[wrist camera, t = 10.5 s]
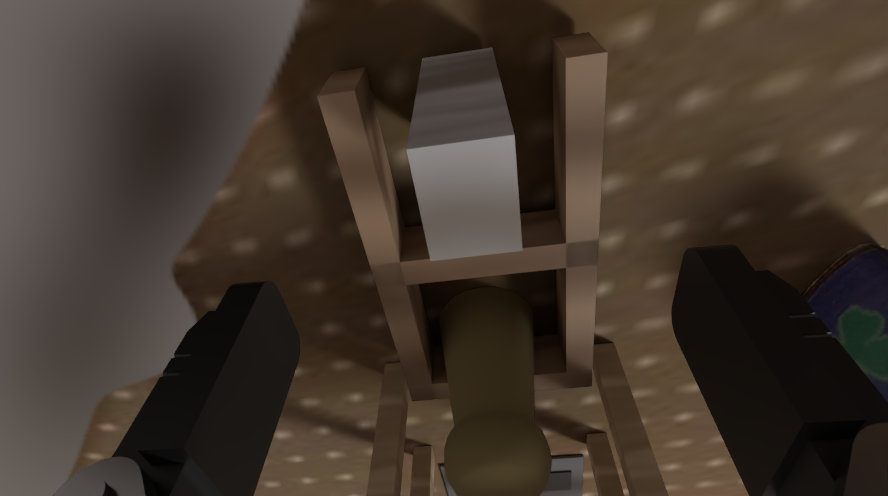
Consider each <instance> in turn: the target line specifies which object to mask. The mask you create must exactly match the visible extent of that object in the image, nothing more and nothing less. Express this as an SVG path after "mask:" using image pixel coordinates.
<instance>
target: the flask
mask: <svg viewBox="0 0 888 496" xmlns="http://www.w3.org/2000/svg"><path fill="white" fill-rule="evenodd" d="M883 247H884V245H882V246H879V245H876V244H873V243H867V244H860V245H858V246H857V247H855V248H854V249H851V250H849V251H847V252H846V253H845V254H844V255H842V256H841V257H840V258H839V259H837V260H836V261H835V262H834V263H833V264H832V265H831V266H830V267H829V268H828V269H827V270H826V271H824V273H822V274H821V275H820V276H819V278H817V280H815V281H814V282H813V283H812V284H811V285H810V286H809V287H808V289H807V290H806V292H805V293H804V294H803V295H802V297H803V298H804V299H805V300H806V302H807V303H808V304H809V305H810V307H811V308H812V309H813V310H814V312H815V316H816V318H817V317H819V318H820V319H821V320H822V321H823V323H824V324H825V325H826V326H827V328H828V329H829V330H830V331H831V336H832V338H836V339H837V340H838V341H839V342H840V344H841V345H842V346H843V347H844V349H845V350H846V351H847V352H848V353H849V355H850V356H851V357H852V358H853V360H854V361H855V362H856V363H857V365H858V366H859V367H860V368H861V370H862V371H863V372H864V373H865V374H866V376H867V377H868V378H869V379H870V381H871V382H872V383H873V384H874V386H875V387H876V388H877V389H878V391H879V392H880V393H881V394H882V395H883V397H884V398H885V399H886V400H887V402H888V250H887V249H884V248H883Z"/></svg>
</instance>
